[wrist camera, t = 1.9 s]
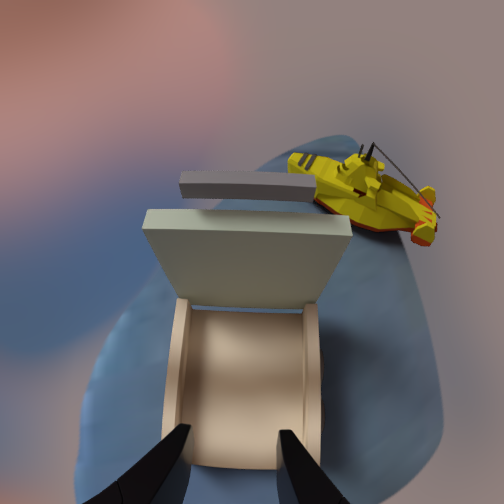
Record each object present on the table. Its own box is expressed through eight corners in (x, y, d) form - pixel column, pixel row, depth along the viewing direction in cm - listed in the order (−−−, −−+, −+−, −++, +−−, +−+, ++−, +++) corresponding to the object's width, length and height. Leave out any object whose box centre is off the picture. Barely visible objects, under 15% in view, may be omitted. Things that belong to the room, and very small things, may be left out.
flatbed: (314, 460, 17) (331, 470, 13) (178, 455, 17) (160, 464, 13) (313, 325, 24) (327, 303, 20) (189, 321, 24) (177, 298, 20)
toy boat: (420, 267, 27) (467, 208, 19) (274, 205, 32) (282, 129, 23) (424, 227, 30) (461, 169, 22) (295, 172, 35) (305, 103, 26)
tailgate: (311, 309, 21) (364, 211, 11) (182, 304, 21) (130, 204, 11) (310, 285, 22) (355, 178, 12) (186, 281, 22) (142, 172, 12)
